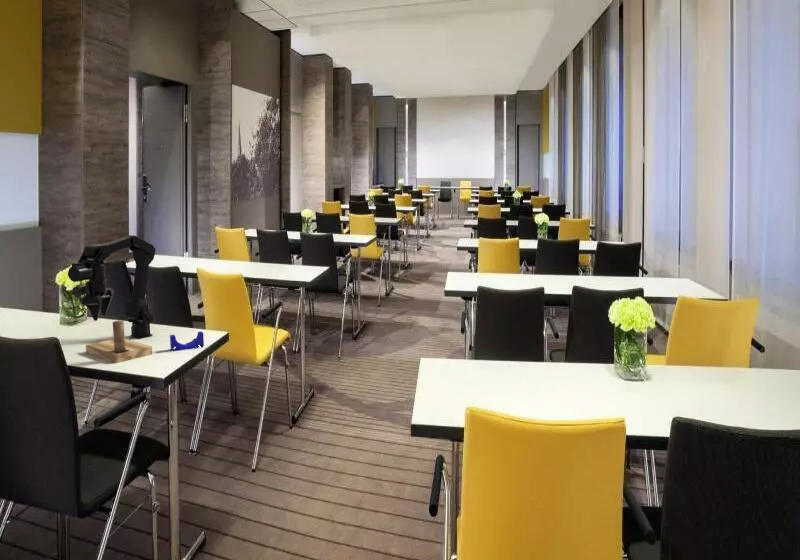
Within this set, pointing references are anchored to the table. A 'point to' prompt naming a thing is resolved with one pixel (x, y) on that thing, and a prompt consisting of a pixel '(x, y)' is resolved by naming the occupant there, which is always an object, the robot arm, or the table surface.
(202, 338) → the blue cradle bracket
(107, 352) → the stool seat
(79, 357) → the table surface
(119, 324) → the stool leg
